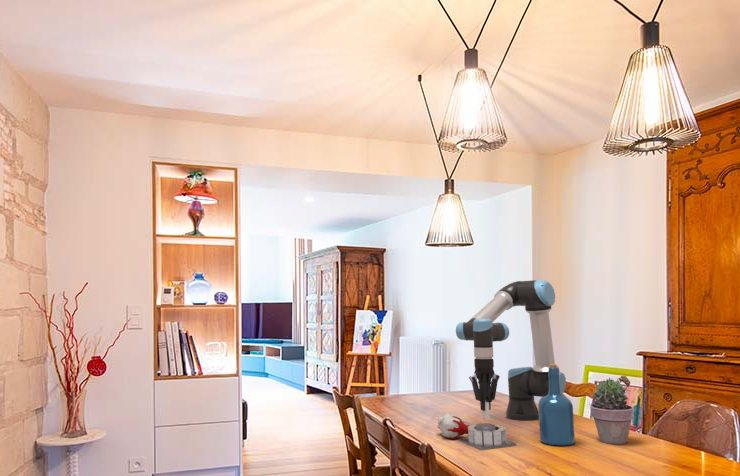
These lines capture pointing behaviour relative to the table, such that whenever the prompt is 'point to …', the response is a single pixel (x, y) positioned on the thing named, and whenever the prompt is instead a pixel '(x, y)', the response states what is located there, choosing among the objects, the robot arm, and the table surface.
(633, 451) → the table surface
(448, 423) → the candle
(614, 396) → the potted plant
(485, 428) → the cap
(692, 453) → the table surface
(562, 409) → the wine bottle
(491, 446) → the square flange collar
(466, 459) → the table surface
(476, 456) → the table surface
